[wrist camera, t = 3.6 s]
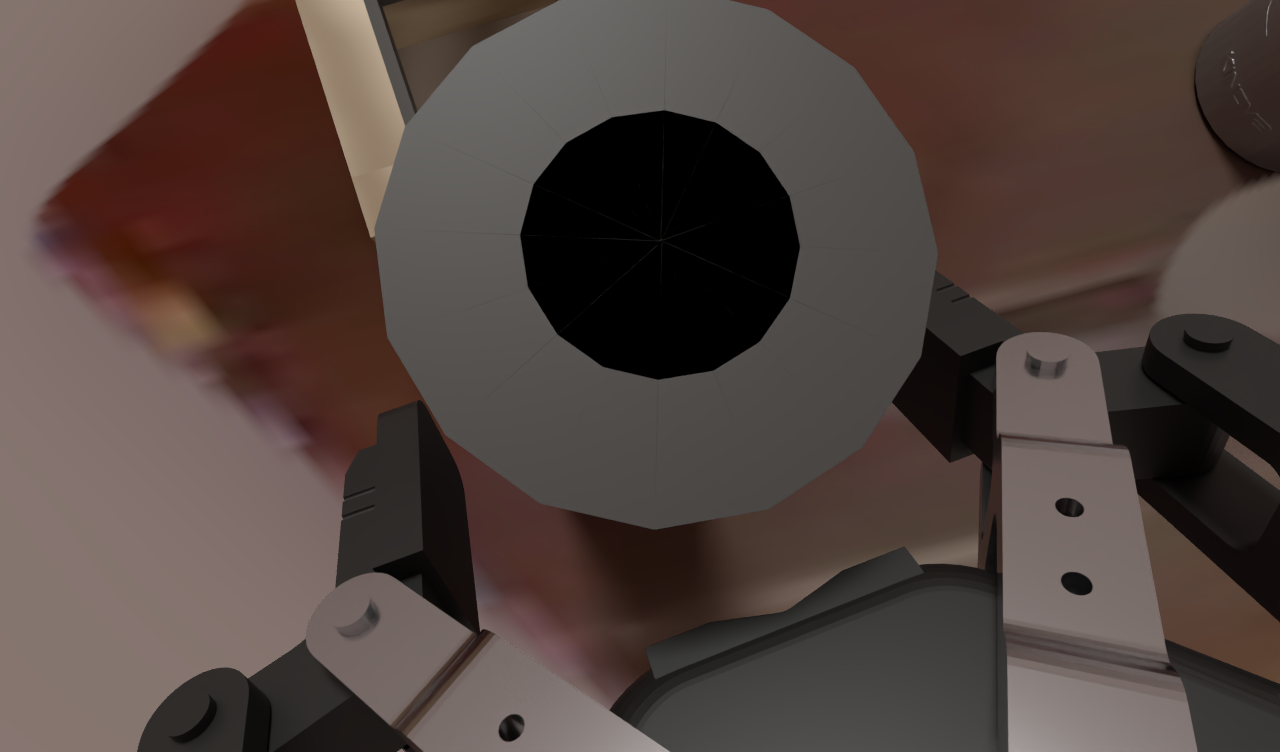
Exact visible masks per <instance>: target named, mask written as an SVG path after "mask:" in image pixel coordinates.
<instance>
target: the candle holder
mask: <svg viewBox="0 0 1280 752" xmlns="http://www.w3.org/2000/svg"><path fill="white" fill-rule="evenodd" d="M374 231H375V239H376V248H377V256H378V264H379V272H380V280H381V289H382V297H383V305H384V313H385V322H386V330H387V337H388V339H389V341H390V342H391V344H392V346H393V348H394V349H395V351H396V353H397V354H398V356H399V358H400V359H401V361H402V363H403V364H404V366H405V368H406V369H407V371H408V373H409V374H410V376H411V378H412V380H413V381H414V383H415V385H416V386H417V388H418V390H419V391H420V393H421V395H422V396H423V398H424V400H425V401H426V403H427V405H428V406H429V408H430V410H431V412H432V413H433V415H434V417H435V418H436V420H437V422H438V423H439V425H440V427H441V428H442V430H443V432H444V433H445V435H446V436H448V437H449V438H450V439H452V440H453V441H454V442H456V443H457V444H459V445H460V446H461V447H463V448H464V449H465V450H467V451H468V452H470V453H471V454H472V455H474V456H475V457H477V458H478V459H479V460H481V461H482V462H483V463H485V464H486V465H488V466H489V467H490V468H492V469H493V470H494V471H496V472H497V473H499V474H500V475H501V476H503V477H504V478H505V479H507V480H508V481H510V482H511V483H512V484H514V485H515V486H517V487H518V488H519V489H521V490H522V491H523V492H525V493H526V494H528V495H529V496H530V497H532V498H533V499H534V500H536V501H537V502H539V503H540V504H545V505H549V506H553V507H558V508H562V509H566V510H571V511H575V512H579V513H584V514H588V515H593V516H597V517H601V518H606V519H610V520H614V521H619V522H623V523H627V524H632V525H636V526H641V527H645V528H649V529H654V530H656V529H661V528H667V527H673V526H678V525H684V524H689V523H695V522H701V521H706V520H712V519H717V518H723V517H729V516H734V515H740V514H745V513H751V512H757V511H762V510H768V509H770V508H771V507H773V506H774V505H776V504H778V503H779V502H781V501H782V500H784V499H785V498H787V497H788V496H790V495H791V494H793V493H794V492H796V491H797V490H799V489H800V488H802V487H803V486H805V485H806V484H808V483H809V482H811V481H812V480H814V479H815V478H817V477H818V476H820V475H821V474H823V473H824V472H826V471H827V470H829V469H830V468H832V467H834V466H835V465H837V464H838V463H840V462H841V461H843V460H844V459H846V458H847V457H849V456H850V455H852V454H853V453H855V452H856V451H858V450H859V449H861V448H862V447H863V446H864V444H865V442H866V441H867V439H868V438H869V436H870V435H871V433H872V432H873V430H874V429H875V427H876V425H877V424H878V422H879V421H880V419H881V418H882V416H883V415H884V413H885V412H886V410H887V408H888V407H889V405H890V404H891V402H892V401H893V399H894V398H895V396H896V395H897V393H898V391H899V390H900V388H901V387H902V385H903V384H904V382H905V381H906V379H907V378H908V376H909V374H910V373H911V371H912V370H913V368H914V367H915V365H916V364H917V362H918V361H919V359H920V357H921V354H922V347H923V341H924V335H925V329H926V323H927V317H928V311H929V305H930V299H931V293H932V287H933V281H934V275H935V269H936V263H937V257H938V250H937V246H936V242H935V238H934V234H933V229H932V225H931V221H930V217H929V213H928V208H927V204H926V200H925V196H924V192H923V188H922V183H921V179H920V175H919V171H918V167H917V162H916V158H915V154H914V151H913V150H912V148H911V147H910V146H909V144H908V143H907V141H906V140H905V139H904V137H903V136H902V134H901V133H900V131H899V130H898V129H897V127H896V126H895V124H894V123H893V122H892V120H891V119H890V117H889V116H888V114H887V113H886V112H885V110H884V109H883V107H882V106H881V105H880V103H879V102H878V100H877V99H876V97H875V96H874V95H873V93H872V92H871V90H870V89H869V88H868V86H867V85H866V83H865V82H864V81H863V79H862V78H861V76H860V75H859V73H858V72H857V71H856V69H855V68H854V67H853V66H851V65H850V64H848V63H847V62H845V61H844V60H842V59H841V58H839V57H838V56H836V55H835V54H833V53H832V52H830V51H829V50H827V49H826V48H825V47H823V46H822V45H820V44H819V43H817V42H816V41H814V40H813V39H811V38H810V37H808V36H807V35H805V34H804V33H802V32H801V31H799V30H798V29H796V28H795V27H793V26H792V25H790V24H789V23H787V22H786V21H784V20H783V19H781V18H780V17H778V16H777V15H775V14H774V13H772V12H771V11H770V10H767V9H763V8H759V7H755V6H751V5H747V4H743V3H738V2H734V1H730V0H559V1H557V2H555V3H553V4H551V5H549V6H548V7H546V8H544V9H542V10H540V11H538V12H536V13H534V14H532V15H531V16H529V17H527V18H525V19H523V20H521V21H519V22H517V23H515V24H514V25H512V26H510V27H508V28H506V29H504V30H502V31H500V32H498V33H497V34H495V35H493V36H491V37H489V38H487V39H485V40H483V41H481V42H480V43H478V44H476V45H474V46H472V47H471V48H470V50H469V51H468V52H467V53H466V54H465V56H464V57H463V58H462V59H461V60H460V62H459V63H458V64H457V65H456V66H455V68H454V69H453V70H452V71H451V72H450V73H449V75H448V76H447V77H446V78H445V79H444V81H443V82H442V83H441V84H440V85H439V87H438V88H437V89H436V90H435V91H434V93H433V94H432V95H431V96H430V97H429V99H428V100H427V101H426V102H425V103H424V104H423V106H422V107H421V108H420V109H419V110H418V112H417V113H416V114H415V115H414V116H413V118H412V119H411V120H410V121H409V122H408V124H407V125H406V126H405V128H404V131H403V135H402V138H401V141H400V145H399V148H398V151H397V155H396V158H395V161H394V165H393V168H392V171H391V174H390V178H389V181H388V184H387V188H386V191H385V194H384V198H383V201H382V204H381V207H380V211H379V214H378V217H377V221H376V224H375V227H374Z"/></svg>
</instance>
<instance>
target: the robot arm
mask: <svg viewBox="0 0 1280 752" xmlns="http://www.w3.org/2000/svg"><path fill="white" fill-rule="evenodd" d="M1195 82H1196V88H1197V95H1198V100H1199V102H1200V105H1201V108H1202V110H1203V113H1204V115H1205V117H1206V119H1207V120H1208V122H1209V124H1210V125H1211V127H1212V129H1213V130H1214V132H1215V133H1216V134H1217V135H1218V136H1219V137H1220V138H1221V140H1222V141H1223V142H1224V143H1225V144H1226V145H1227V146H1228V147H1229V148H1230V149H1232V150H1233V151H1234V152H1236V153H1237V154H1238V155H1240V156H1241V157H1242V158H1244V159H1245V160H1247V161H1249V162H1251V163H1253V164H1255V165H1257V166H1259V167H1261V168H1265V169H1268V170H1272V171H1275V172H1278V173H1280V0H1251V1H1250V2H1249V3H1247V4H1246V5H1245V6H1243V7H1242V8H1241V9H1239V10H1238V11H1237V12H1235V13H1234V14H1232V15H1231V16H1230V17H1228V18H1227V19H1226V20H1224V21H1223V22H1222V23H1221V24H1220V25H1218V26H1217V27H1216V28H1215V29H1214V30H1213V31H1212V32H1211V33H1210V34H1209V36H1208V38H1207V39H1206V41H1205V43H1204V44H1203V46H1202V48H1201V50H1200V54H1199V57H1198V60H1197V63H1196V78H1195ZM892 403H893V404H894V405H895V406H896V407H897V408H898V409H899V410H900V411H901V412H902V413H903V414H904V416H905V417H906V418H907V419H908V420H909V421H910V422H911V423H912V424H913V425H914V426H915V427H916V428H917V429H918V430H919V431H920V432H921V433H922V434H923V435H924V436H925V437H926V438H927V440H928V441H929V442H930V443H931V444H932V445H933V446H934V447H935V448H936V449H937V450H938V451H939V452H940V453H941V454H942V455H943V456H944V457H945V458H946V459H947V460H948V461H949V462H950V463H951V462H954V461H956V460H959V459H962V458H964V457H967V456H969V455H972V454H975V455H976V456H977V457H978V458H979V459H980V460H981V461H982V463H981V470H980V494H979V544H978V567H977V568H974V567H968V566H963V565H952V564H923V565H918V563H917V562H916V561H915V560H914V558H913V557H912V556H911V554H910V553H909V552H908V550H907V549H906V548H905V547H902V548H899V549H897V550H894V551H891V552H889V553H886V554H884V555H881V556H879V557H876V558H874V559H871V560H868V561H866V562H863V563H861V564H858V565H856V566H853V567H850V568H848V569H845V570H843V571H841V572H840V573H839V574H837V575H836V576H834V577H833V578H832V579H830V580H829V581H828V582H826V583H825V584H823V585H822V586H821V587H819V588H818V589H817V590H815V591H814V592H812V593H811V594H810V595H808V596H807V597H806V598H804V599H803V600H801V601H800V602H799V603H797V604H796V605H795V606H793V607H792V608H790V609H788V610H786V611H784V612H780V613H774V614H767V615H760V616H752V617H745V618H738V619H730V620H723V621H716V622H710V623H707V624H705V625H702V626H700V627H697V628H694V629H692V630H689V631H687V632H684V633H682V634H679V635H677V636H674V637H671V638H669V639H666V640H664V641H661V642H659V643H656V644H654V645H651V646H648V647H646V648H645V650H646V653H647V656H648V659H649V662H650V665H651V669H650V670H649V671H647V672H646V673H645V674H643V675H642V676H641V677H639V678H638V679H637V680H636V681H635V682H634V683H633V684H632V685H631V686H630V687H629V688H627V689H626V690H625V692H624V693H623V694H622V695H621V696H620V697H619V698H618V700H617V701H616V702H615V703H614V704H613V706H612V707H611V709H610V710H608V709H606V708H605V707H603V706H602V705H600V704H599V703H597V702H596V701H594V700H593V699H591V698H590V697H588V696H587V695H585V694H584V693H582V692H581V691H579V690H578V689H577V688H575V687H574V686H572V685H571V684H569V683H568V682H566V681H565V680H563V679H562V678H560V677H559V676H557V675H556V674H554V673H553V672H551V671H550V670H548V669H547V668H545V667H544V666H542V665H541V664H540V663H538V662H537V661H535V660H534V659H532V658H531V657H529V656H528V655H526V654H525V653H523V652H522V651H520V650H519V649H517V648H516V647H514V646H513V645H511V644H510V643H508V642H507V641H505V640H504V639H503V638H501V637H499V636H498V635H496V634H495V633H493V632H491V631H489V630H485V629H483V630H482V631H481V632H480V628H479V619H478V610H477V601H476V592H475V583H474V574H473V565H472V556H471V547H470V538H469V529H468V520H467V512H466V503H465V494H464V488H463V483H462V479H461V476H460V473H459V470H458V468H457V465H456V463H455V461H454V459H453V457H452V455H451V453H450V451H449V449H448V447H447V445H446V444H445V442H444V440H443V438H442V436H441V434H440V432H439V430H438V429H437V427H436V425H435V423H434V421H433V419H432V417H431V415H430V414H429V412H428V410H427V408H426V406H425V405H424V404H423V402H422V401H420V400H418V401H415V402H413V403H410V404H407V405H404V406H401V407H398V408H395V409H392V410H389V411H386V412H383V413H380V414H379V415H378V420H377V445H374V446H371V447H368V448H365V449H362V450H359V451H358V453H357V455H356V456H355V458H354V460H353V462H352V464H351V465H350V467H349V469H348V471H347V472H346V474H345V484H344V495H343V498H344V500H345V501H344V502H343V507H342V517H343V520H342V521H341V530H340V542H339V553H338V565H337V576H336V588H335V589H334V590H333V591H332V592H330V593H329V594H328V595H327V596H326V597H325V598H324V599H323V600H322V602H321V603H320V604H319V605H318V607H317V608H316V609H315V611H314V613H313V614H312V616H311V619H310V621H309V623H308V626H307V630H306V639H305V640H304V641H302V642H301V643H300V644H299V645H297V646H296V647H295V648H293V649H292V650H291V651H289V652H288V653H286V654H285V655H283V656H282V657H280V658H278V659H277V660H275V661H274V662H272V663H271V664H269V665H268V666H266V667H265V668H263V669H262V670H260V671H259V672H257V673H256V674H254V675H253V676H251V677H250V678H248V679H247V678H246V677H245V676H244V675H243V674H242V673H241V672H240V671H238V670H235V669H232V668H217V669H212V670H209V671H206V672H203V673H201V674H199V675H197V676H195V677H193V678H192V679H190V680H188V681H187V682H185V683H184V684H182V685H181V686H180V687H179V688H178V689H176V690H175V691H174V692H173V693H171V694H170V695H169V696H168V697H167V698H166V699H165V700H164V702H163V703H162V704H161V705H160V706H159V707H158V708H157V710H156V711H155V712H154V714H153V715H152V717H151V718H150V720H149V721H148V723H147V725H146V727H145V729H144V731H143V733H142V736H141V739H140V743H139V746H138V750H137V752H397V751H398V750H400V749H401V748H402V749H403V750H404V751H405V752H1280V684H1278V683H1276V682H1273V681H1271V680H1268V679H1265V678H1263V677H1260V676H1258V675H1255V674H1253V673H1250V672H1248V671H1245V670H1243V669H1240V668H1237V667H1235V666H1232V665H1230V664H1227V663H1225V662H1222V661H1220V660H1217V659H1215V658H1212V657H1209V656H1207V655H1204V654H1202V653H1199V652H1197V651H1194V650H1192V649H1189V648H1187V647H1184V646H1181V645H1179V644H1176V643H1174V642H1171V641H1169V640H1166V639H1164V635H1163V629H1162V624H1161V619H1160V613H1159V608H1158V602H1157V597H1156V592H1155V586H1154V581H1153V575H1152V570H1151V565H1150V559H1149V554H1148V548H1147V543H1146V538H1145V532H1144V527H1143V521H1142V516H1141V511H1140V505H1139V500H1138V494H1139V495H1140V496H1141V497H1142V498H1143V499H1144V500H1145V501H1146V502H1147V503H1148V504H1150V505H1151V506H1152V507H1153V508H1154V509H1155V510H1156V511H1157V512H1158V513H1160V514H1161V515H1162V516H1163V517H1164V518H1165V519H1166V520H1167V521H1168V522H1169V523H1171V524H1172V525H1173V526H1174V527H1175V528H1176V529H1177V530H1178V531H1179V532H1181V533H1182V534H1183V535H1184V536H1185V537H1186V538H1187V539H1188V540H1189V541H1191V542H1192V543H1193V544H1194V545H1195V546H1196V547H1197V548H1198V549H1199V550H1200V551H1202V552H1203V553H1204V554H1205V555H1206V556H1207V557H1208V558H1209V559H1210V560H1212V561H1213V562H1214V563H1215V564H1216V565H1217V566H1218V567H1219V568H1220V569H1222V570H1223V571H1224V572H1225V573H1226V574H1227V575H1228V576H1229V577H1230V578H1231V579H1233V580H1234V581H1235V582H1236V583H1237V584H1238V585H1239V586H1240V587H1241V588H1243V589H1244V590H1245V591H1246V592H1247V593H1248V594H1249V595H1250V596H1251V597H1253V598H1254V599H1255V600H1256V601H1257V602H1258V603H1259V604H1260V605H1261V606H1262V607H1264V608H1265V609H1266V610H1267V611H1268V612H1269V613H1270V614H1271V615H1272V616H1274V617H1275V618H1276V619H1277V620H1278V621H1279V622H1280V490H1278V489H1277V488H1275V487H1274V486H1273V485H1271V484H1270V483H1269V482H1267V481H1266V480H1265V479H1263V478H1262V477H1261V476H1259V475H1258V474H1257V473H1255V472H1254V471H1253V470H1251V469H1250V468H1249V467H1247V466H1246V465H1245V464H1243V463H1242V462H1241V461H1239V460H1238V459H1237V458H1235V457H1234V456H1233V455H1231V454H1230V453H1229V452H1227V451H1226V450H1225V449H1224V447H1225V445H1226V443H1227V441H1228V438H1229V436H1232V437H1233V438H1234V439H1236V440H1237V441H1239V442H1240V443H1241V444H1243V445H1244V446H1246V447H1247V448H1248V449H1250V450H1251V451H1252V452H1254V453H1255V454H1257V455H1258V456H1259V457H1261V458H1262V459H1264V460H1265V461H1266V462H1267V463H1269V464H1270V465H1271V466H1272V467H1273V468H1274V469H1275V471H1276V472H1277V473H1278V475H1279V477H1280V345H1279V344H1277V343H1275V342H1274V341H1272V340H1270V339H1268V338H1267V337H1265V336H1263V335H1261V334H1260V333H1258V332H1256V331H1254V330H1253V329H1251V328H1249V327H1247V326H1245V325H1243V324H1241V323H1239V322H1236V321H1233V320H1230V319H1227V318H1223V317H1218V316H1214V315H1205V314H1181V315H1175V316H1171V317H1167V318H1165V319H1162V320H1160V321H1159V322H1157V323H1156V324H1155V325H1154V326H1153V327H1152V329H1151V330H1150V333H1149V337H1148V340H1147V343H1146V347H1138V348H1129V349H1121V350H1112V351H1103V352H1094V351H1093V350H1092V349H1091V348H1090V347H1089V346H1087V345H1086V344H1084V343H1082V342H1081V341H1079V340H1077V339H1074V338H1071V337H1069V336H1065V335H1061V334H1056V333H1047V332H1034V333H1026V334H1024V333H1023V332H1021V331H1020V330H1018V329H1017V328H1016V327H1014V326H1013V325H1011V324H1010V323H1009V322H1007V321H1006V320H1004V319H1003V318H1002V317H1000V316H999V315H997V314H996V313H995V312H993V311H992V310H990V309H989V308H988V307H986V306H985V305H983V304H982V303H981V302H979V301H978V300H976V299H975V298H974V297H972V298H970V296H969V294H968V293H967V292H965V291H964V290H962V289H961V288H960V287H958V286H956V287H955V286H954V283H953V282H951V281H950V280H948V279H947V278H946V277H944V276H943V275H941V274H940V273H939V272H937V271H936V270H935V275H934V281H933V287H932V293H931V299H930V305H929V311H928V317H927V323H926V329H925V335H924V341H923V347H922V354H921V357H920V359H919V361H918V362H917V364H916V365H915V367H914V368H913V370H912V371H911V373H910V374H909V376H908V378H907V379H906V381H905V382H904V384H903V385H902V387H901V388H900V390H899V391H898V393H897V395H896V396H895V398H894V399H893V401H892Z"/></svg>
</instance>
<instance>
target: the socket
mask: <svg viewBox="0 0 1280 752" xmlns="http://www.w3.org/2000/svg"><path fill="white" fill-rule="evenodd" d="M295 1H296V4H297V7H298V10H299V13H300V16H301V19H302V23H303V26H304V29H305V32H306V35H307V38H308V41H309V45H310V48H311V51H312V54H313V57H314V60H315V64H316V67H317V70H318V73H319V76H320V79H321V82H322V86H323V89H324V92H325V95H326V98H327V101H328V105H329V108H330V111H331V114H332V117H333V120H334V123H335V127H336V130H337V133H338V136H339V139H340V142H341V145H342V149H343V152H344V155H345V158H346V161H347V164H348V168H349V171H350V174H351V177H352V180H353V183H354V186H355V190H356V193H357V196H358V199H359V202H360V205H361V208H362V212H363V215H364V218H365V221H366V224H367V227H368V231H369V234H370V237H371V238H372V239H373V240H374V242H375V243H376V239H375V231H374V227H375V224H376V221H377V217H378V214H379V211H380V207H381V204H382V201H383V198H384V194H385V191H386V188H387V184H388V181H389V178H390V174H391V171H392V168H393V165H394V161H395V158H396V155H397V151H398V148H399V145H400V141H401V138H402V135H403V131H404V128H405V126H406V125H407V124H408V122H409V121H410V120H411V119H412V118H413V116H414V115H415V114H416V113H417V112H418V110H419V109H420V108H421V107H422V106H423V104H424V103H425V102H426V101H427V100H428V99H429V97H430V96H431V95H432V94H433V93H434V91H435V90H436V89H437V88H438V87H439V85H440V84H441V83H442V82H443V81H444V79H445V78H446V77H447V76H448V75H449V73H450V72H451V71H452V70H453V69H454V68H455V66H456V65H457V64H458V63H459V62H460V60H461V59H462V58H463V57H464V56H465V54H466V53H467V52H468V51H469V50H470V48H471V47H472V46H474V45H476V44H478V43H480V42H481V41H483V40H485V39H487V38H489V37H491V36H493V35H495V34H497V33H498V32H500V31H502V30H504V29H506V28H508V27H510V26H512V25H514V24H515V23H517V22H519V21H521V20H523V19H525V18H527V17H529V16H531V15H532V14H534V13H536V12H538V11H540V10H542V9H544V8H546V7H548V6H549V5H551V4H553V3H555V2H557V1H559V0H295Z"/></svg>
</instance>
